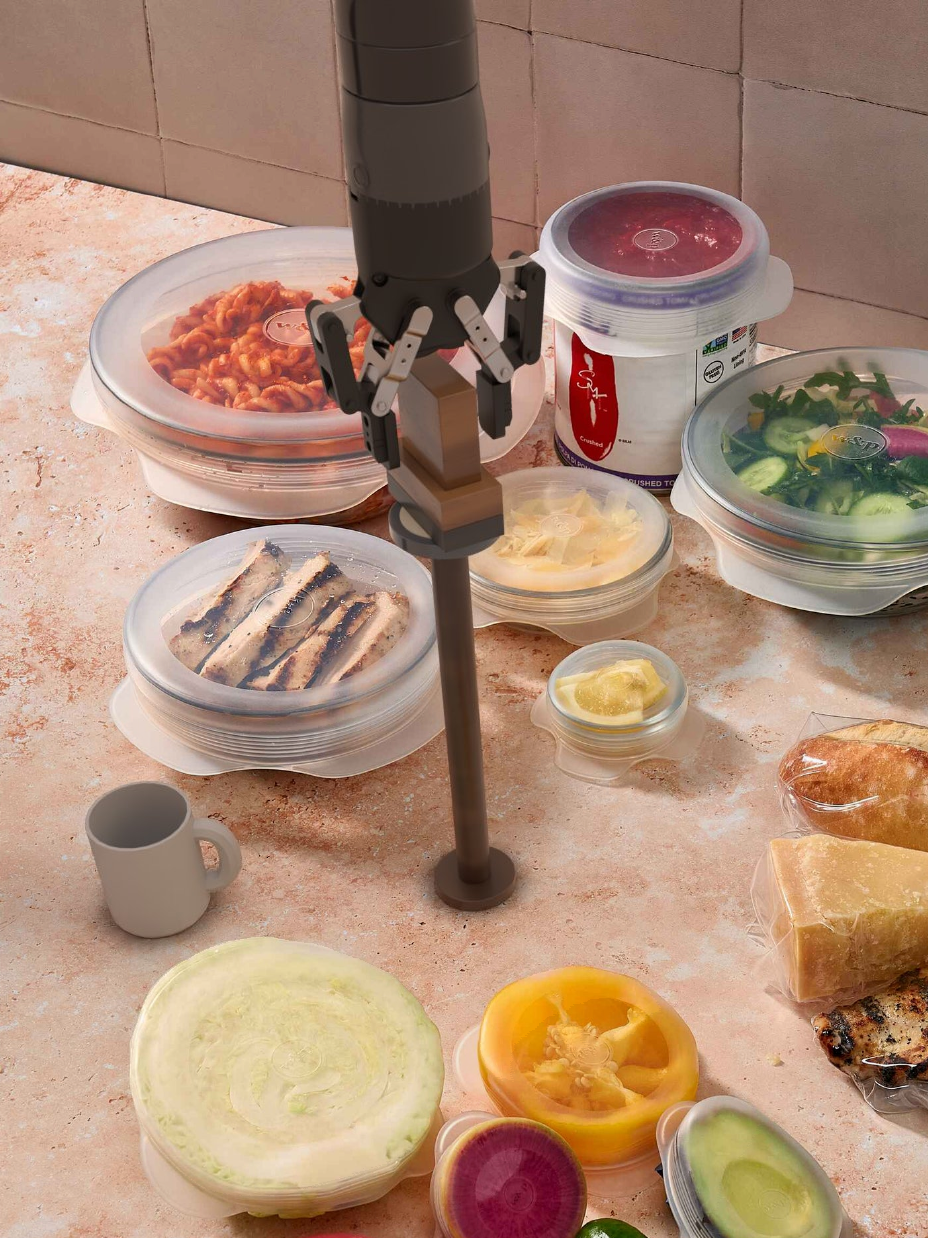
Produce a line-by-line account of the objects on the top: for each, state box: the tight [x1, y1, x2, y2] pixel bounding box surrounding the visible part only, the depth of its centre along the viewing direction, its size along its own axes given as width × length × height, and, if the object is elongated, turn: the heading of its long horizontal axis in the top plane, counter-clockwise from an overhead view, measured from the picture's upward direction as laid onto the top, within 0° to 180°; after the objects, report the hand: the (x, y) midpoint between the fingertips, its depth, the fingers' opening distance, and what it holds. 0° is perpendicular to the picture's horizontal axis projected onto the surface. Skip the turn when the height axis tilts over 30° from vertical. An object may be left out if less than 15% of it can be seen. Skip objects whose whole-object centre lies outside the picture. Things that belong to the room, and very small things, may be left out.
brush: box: [385, 351, 505, 553], centre depth 99 cm, size 8×4×10 cm, turn 31°
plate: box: [387, 500, 501, 560], centre depth 102 cm, size 7×7×1 cm
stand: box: [429, 556, 517, 912], centre depth 113 cm, size 6×6×31 cm
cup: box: [84, 780, 243, 939], centre depth 119 cm, size 7×10×9 cm
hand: (440, 447), depth 99 cm, fingers open, 6 cm apart
